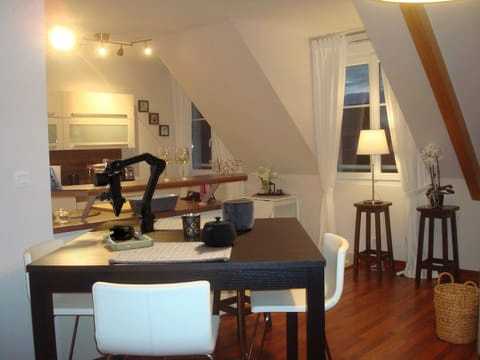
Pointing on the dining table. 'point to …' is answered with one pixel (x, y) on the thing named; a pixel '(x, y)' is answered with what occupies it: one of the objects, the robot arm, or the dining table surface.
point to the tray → (132, 244)
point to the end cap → (122, 233)
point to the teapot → (218, 233)
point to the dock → (137, 234)
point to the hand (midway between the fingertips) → (117, 216)
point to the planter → (239, 213)
